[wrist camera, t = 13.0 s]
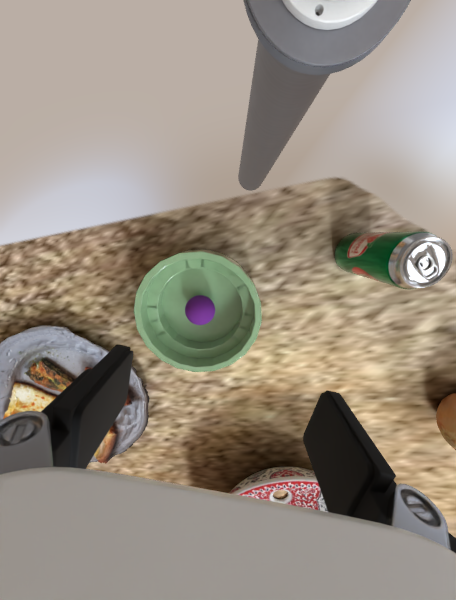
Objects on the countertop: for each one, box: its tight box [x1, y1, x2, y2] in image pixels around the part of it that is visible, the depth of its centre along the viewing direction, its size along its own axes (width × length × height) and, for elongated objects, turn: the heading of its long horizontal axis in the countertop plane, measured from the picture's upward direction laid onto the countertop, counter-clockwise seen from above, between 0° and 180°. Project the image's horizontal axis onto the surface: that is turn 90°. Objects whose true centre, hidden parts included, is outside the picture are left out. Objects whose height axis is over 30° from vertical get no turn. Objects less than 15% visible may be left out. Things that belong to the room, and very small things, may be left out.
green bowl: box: [134, 249, 262, 372], centre depth 30 cm, size 16×16×5 cm
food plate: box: [0, 325, 149, 464], centre depth 35 cm, size 25×23×4 cm
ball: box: [185, 295, 215, 325], centre depth 30 cm, size 4×4×4 cm
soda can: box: [335, 232, 452, 289], centre depth 25 cm, size 5×5×12 cm
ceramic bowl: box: [230, 467, 328, 512], centre depth 39 cm, size 29×29×8 cm
